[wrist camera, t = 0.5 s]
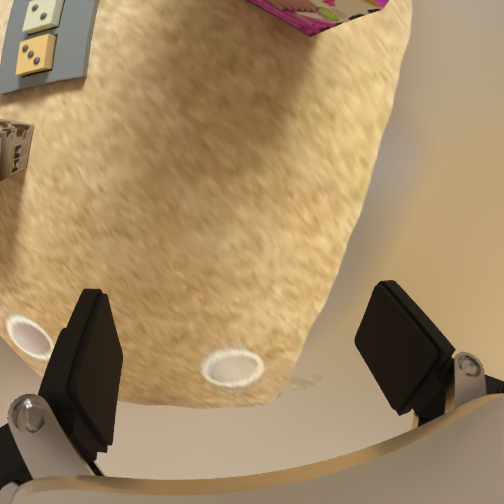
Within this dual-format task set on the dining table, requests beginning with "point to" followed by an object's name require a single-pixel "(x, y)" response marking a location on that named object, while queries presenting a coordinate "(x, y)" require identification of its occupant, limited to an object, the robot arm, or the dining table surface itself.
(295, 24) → the candy bar box
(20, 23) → the board
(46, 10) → the tile
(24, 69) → the tile
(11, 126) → the coffee box
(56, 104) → the dining table surface
